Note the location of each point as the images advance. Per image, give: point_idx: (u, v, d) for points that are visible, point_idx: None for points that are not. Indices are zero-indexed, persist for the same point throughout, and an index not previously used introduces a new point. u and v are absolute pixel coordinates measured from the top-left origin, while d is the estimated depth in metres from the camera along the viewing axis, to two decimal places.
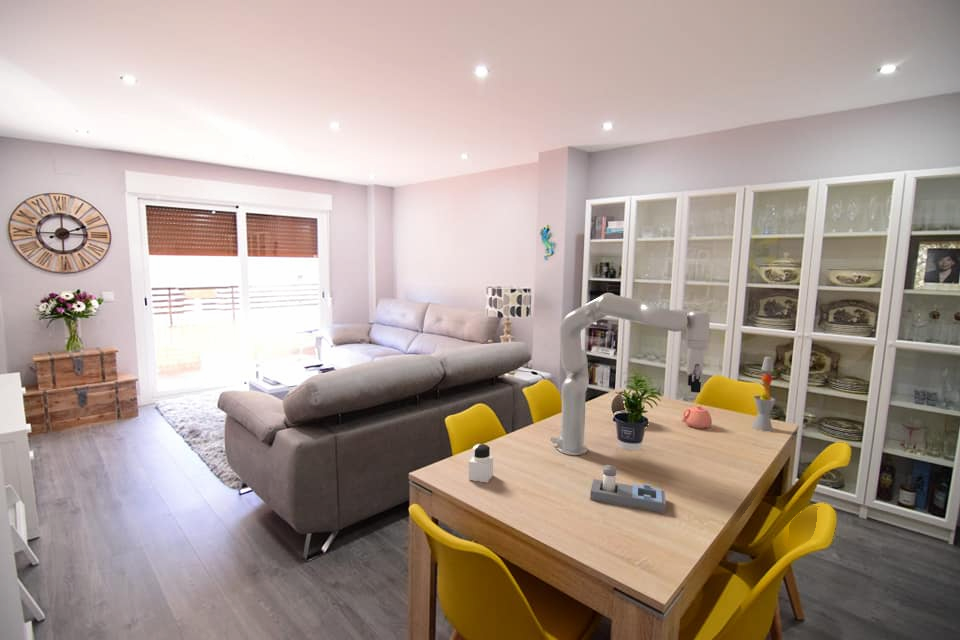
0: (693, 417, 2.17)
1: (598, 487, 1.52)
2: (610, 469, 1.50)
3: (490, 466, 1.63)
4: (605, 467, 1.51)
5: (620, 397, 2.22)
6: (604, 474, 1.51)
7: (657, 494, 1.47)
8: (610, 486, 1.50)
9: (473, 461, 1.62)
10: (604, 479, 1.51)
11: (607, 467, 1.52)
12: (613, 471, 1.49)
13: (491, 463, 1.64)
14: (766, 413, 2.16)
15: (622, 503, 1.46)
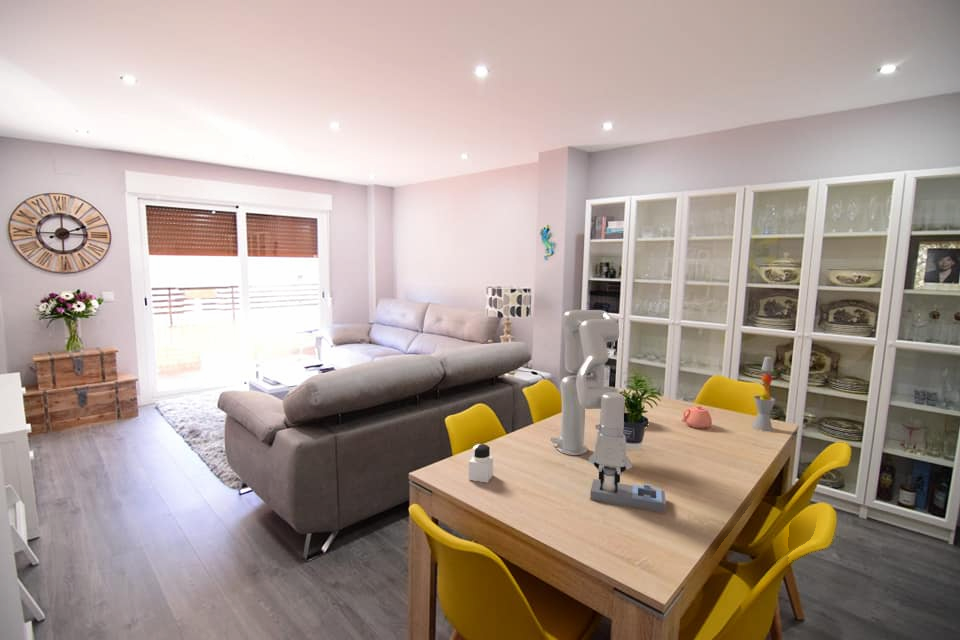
0: (693, 417, 2.17)
1: (598, 487, 1.52)
2: (610, 469, 1.50)
3: (490, 466, 1.63)
4: (605, 467, 1.51)
5: None
6: (604, 474, 1.51)
7: (657, 494, 1.47)
8: (610, 486, 1.50)
9: (473, 461, 1.62)
10: (604, 479, 1.51)
11: (607, 467, 1.52)
12: (613, 471, 1.49)
13: (491, 463, 1.64)
14: (766, 413, 2.16)
15: (622, 503, 1.46)
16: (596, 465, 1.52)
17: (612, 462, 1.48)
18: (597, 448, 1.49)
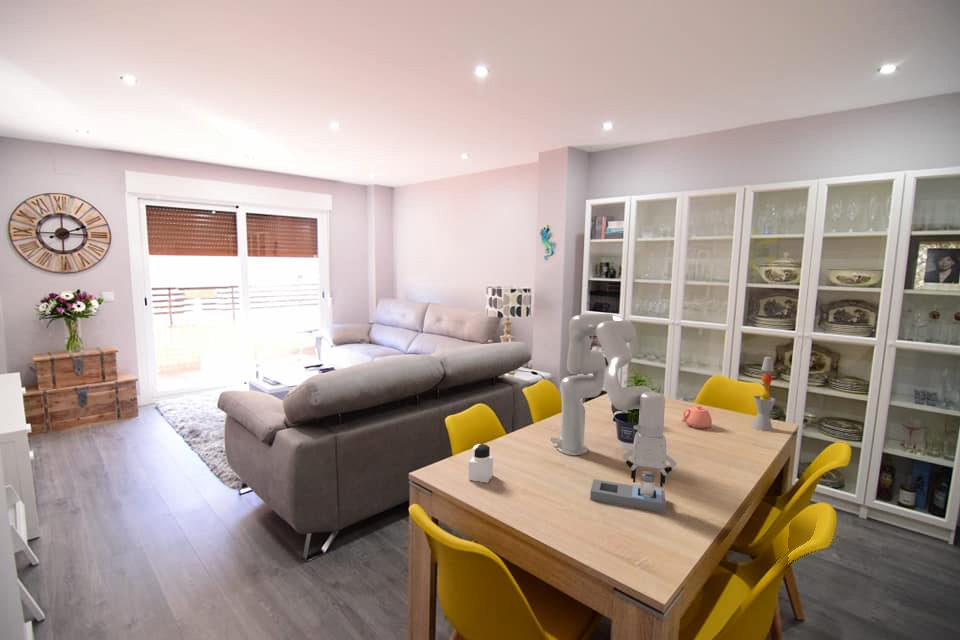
0: (693, 417, 2.17)
1: (598, 487, 1.52)
2: (649, 475, 1.46)
3: (490, 466, 1.63)
4: (643, 473, 1.47)
5: None
6: (642, 480, 1.47)
7: (657, 494, 1.47)
8: (648, 492, 1.46)
9: (473, 461, 1.62)
10: (642, 485, 1.47)
11: (645, 473, 1.48)
12: (652, 477, 1.45)
13: (491, 463, 1.64)
14: (766, 413, 2.16)
15: (622, 503, 1.46)
16: (628, 464, 1.48)
17: (652, 463, 1.44)
18: (636, 449, 1.45)
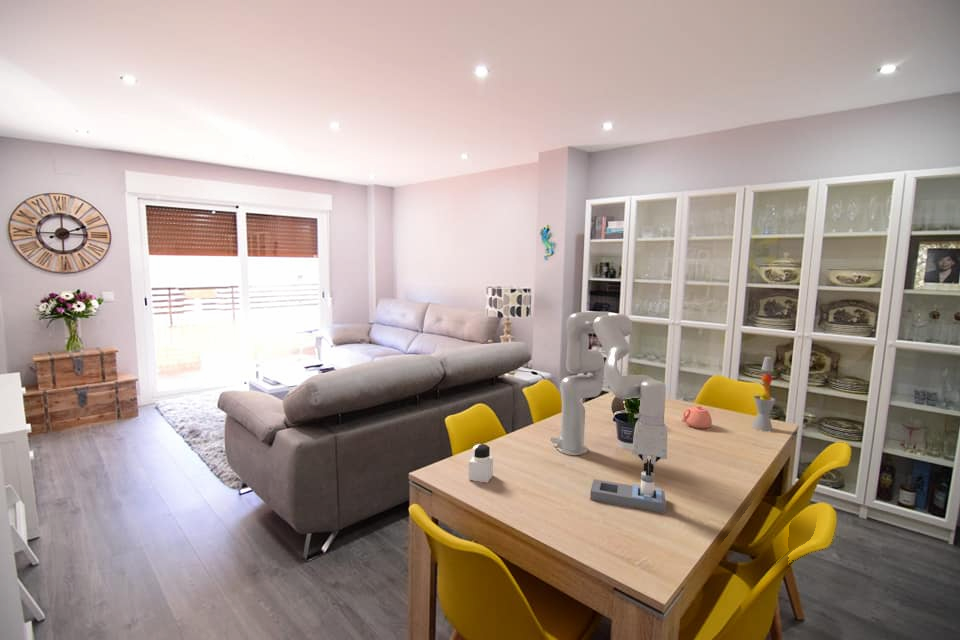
0: (693, 417, 2.17)
1: (598, 487, 1.52)
2: None
3: (490, 466, 1.63)
4: (643, 473, 1.47)
5: None
6: (642, 480, 1.47)
7: (657, 494, 1.47)
8: (648, 492, 1.46)
9: (473, 461, 1.62)
10: (642, 485, 1.47)
11: (645, 473, 1.48)
12: (652, 477, 1.45)
13: (491, 463, 1.64)
14: (766, 413, 2.16)
15: (622, 503, 1.46)
16: (641, 456, 1.46)
17: (652, 452, 1.43)
18: (636, 437, 1.45)
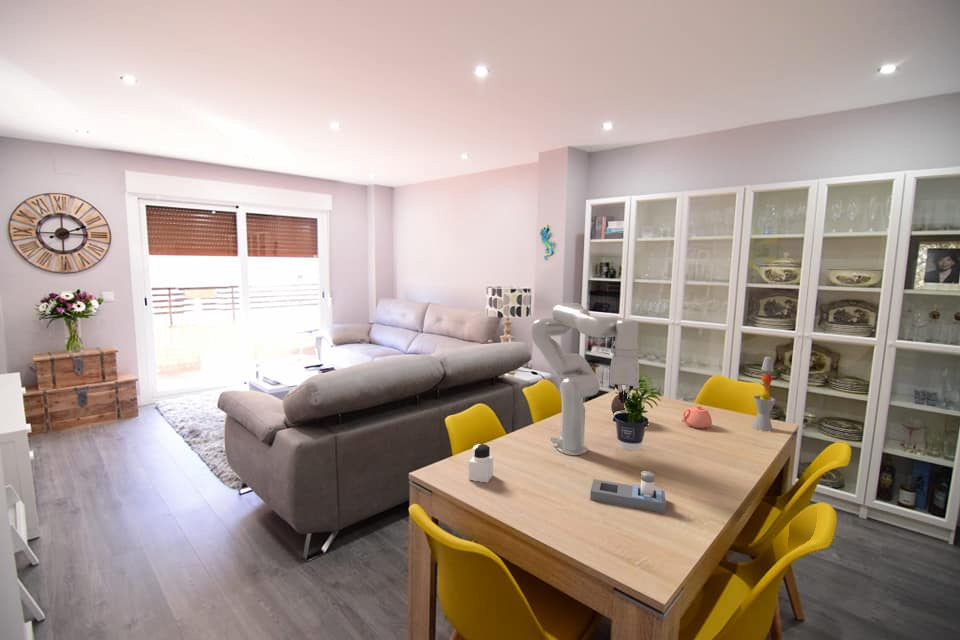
0: (693, 417, 2.17)
1: (598, 487, 1.52)
2: (649, 475, 1.46)
3: (490, 466, 1.63)
4: (643, 473, 1.47)
5: None
6: (642, 480, 1.47)
7: (657, 494, 1.47)
8: (648, 492, 1.46)
9: (473, 461, 1.62)
10: (642, 485, 1.47)
11: (645, 473, 1.48)
12: (652, 477, 1.45)
13: (491, 463, 1.64)
14: (766, 413, 2.16)
15: (622, 503, 1.46)
16: (616, 386, 1.66)
17: (626, 381, 1.63)
18: (612, 369, 1.64)
